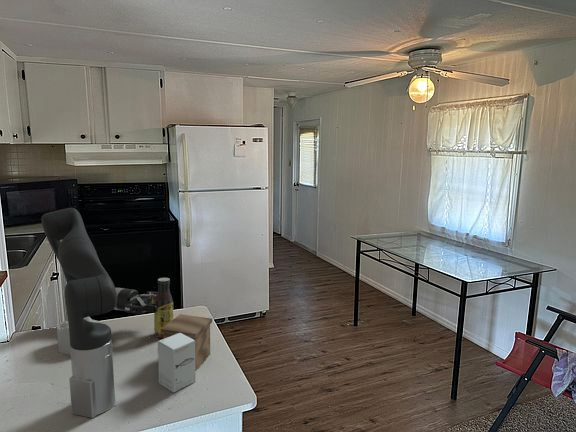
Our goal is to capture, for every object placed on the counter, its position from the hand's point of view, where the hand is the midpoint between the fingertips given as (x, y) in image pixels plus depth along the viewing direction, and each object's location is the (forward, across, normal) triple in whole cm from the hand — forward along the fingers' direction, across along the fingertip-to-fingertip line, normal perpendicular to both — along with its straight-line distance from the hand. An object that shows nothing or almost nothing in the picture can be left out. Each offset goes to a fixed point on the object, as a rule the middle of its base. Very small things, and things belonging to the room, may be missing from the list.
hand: (163, 304), depth 139 cm
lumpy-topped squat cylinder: (-22, -15, +11) cm, 29 cm away
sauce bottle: (0, 0, +11) cm, 11 cm away
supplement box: (+18, -24, +11) cm, 33 cm away
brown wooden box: (+16, -13, +11) cm, 23 cm away
